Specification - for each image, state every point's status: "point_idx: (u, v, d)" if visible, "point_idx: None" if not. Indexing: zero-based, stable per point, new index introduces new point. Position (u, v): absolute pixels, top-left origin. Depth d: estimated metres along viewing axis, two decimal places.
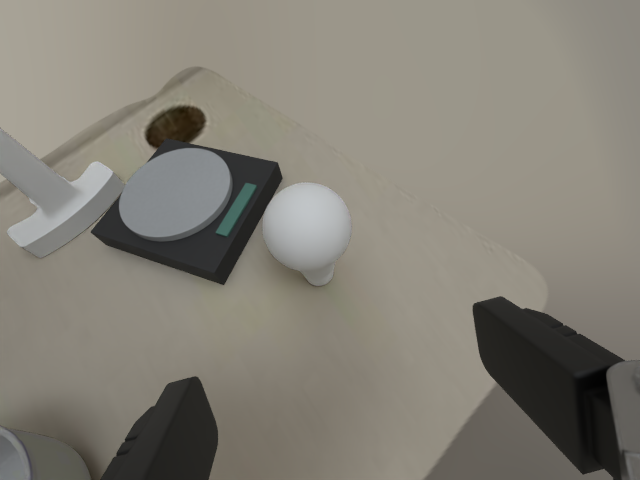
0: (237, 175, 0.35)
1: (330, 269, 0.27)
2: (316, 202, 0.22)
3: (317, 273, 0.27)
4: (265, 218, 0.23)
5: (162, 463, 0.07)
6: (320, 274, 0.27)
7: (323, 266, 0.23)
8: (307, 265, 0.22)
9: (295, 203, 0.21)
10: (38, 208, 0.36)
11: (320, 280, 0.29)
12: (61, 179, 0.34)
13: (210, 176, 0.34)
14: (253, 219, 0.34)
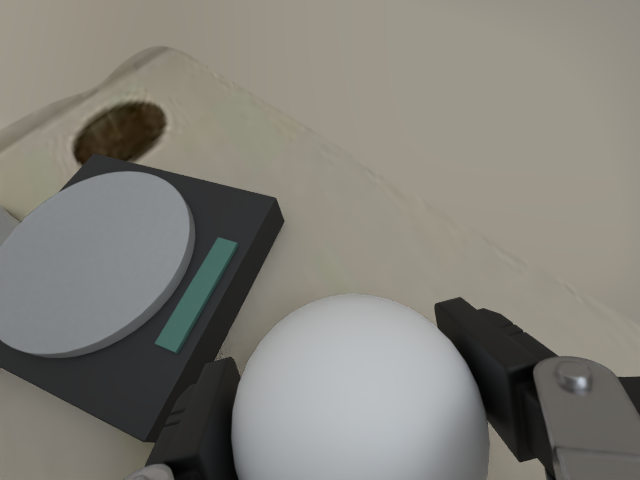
0: (204, 221, 0.20)
1: None
2: (408, 408, 0.06)
3: None
4: (237, 423, 0.08)
5: (212, 431, 0.08)
6: None
7: None
8: None
9: (337, 415, 0.06)
10: None
11: None
12: None
13: (154, 225, 0.19)
14: (231, 305, 0.18)
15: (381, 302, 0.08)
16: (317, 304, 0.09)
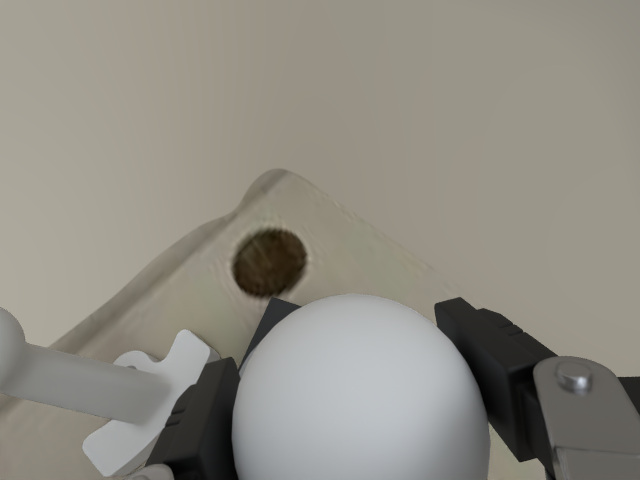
0: None
1: None
2: (409, 408, 0.06)
3: None
4: (238, 423, 0.08)
5: (212, 431, 0.08)
6: None
7: None
8: None
9: (338, 415, 0.06)
10: None
11: None
12: (155, 385, 0.26)
13: None
14: None
15: (381, 302, 0.08)
16: (317, 304, 0.09)
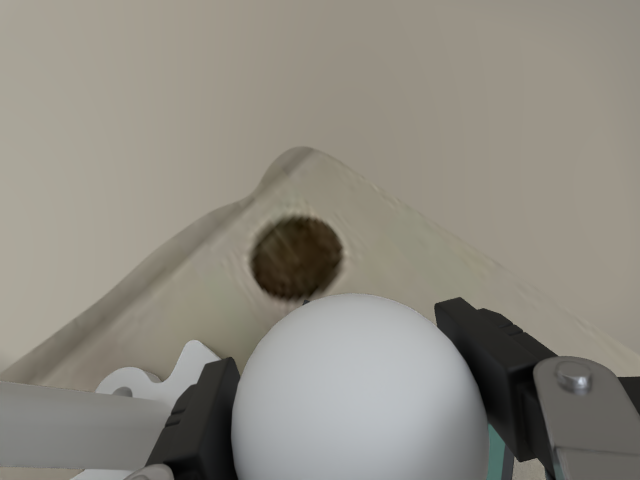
0: None
1: None
2: (409, 408, 0.06)
3: None
4: (237, 423, 0.08)
5: (212, 431, 0.08)
6: None
7: None
8: None
9: (337, 415, 0.06)
10: None
11: None
12: (157, 418, 0.19)
13: None
14: None
15: (381, 302, 0.08)
16: (317, 304, 0.09)
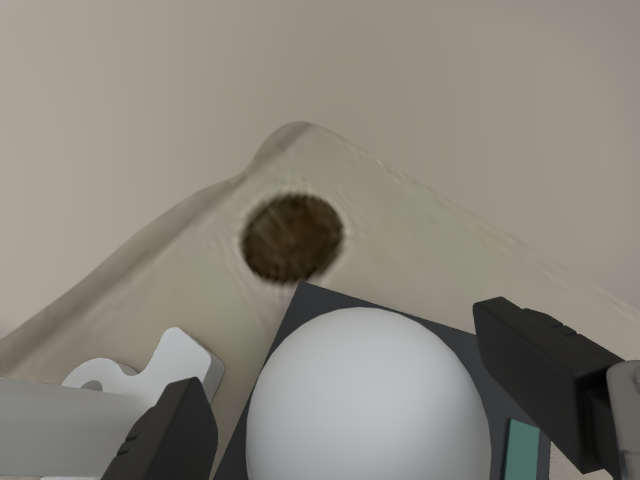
0: (478, 390, 0.17)
1: None
2: (415, 421, 0.07)
3: None
4: (253, 433, 0.08)
5: (162, 463, 0.07)
6: None
7: None
8: None
9: (349, 427, 0.07)
10: None
11: None
12: (124, 415, 0.16)
13: None
14: None
15: (387, 316, 0.09)
16: (326, 318, 0.09)
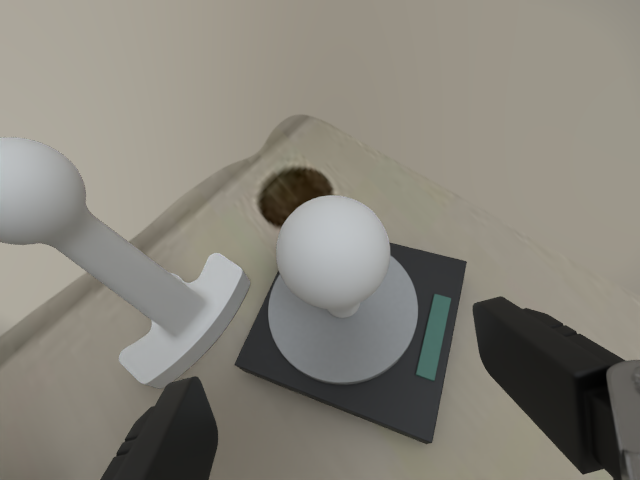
0: (416, 280, 0.27)
1: None
2: (348, 223, 0.16)
3: None
4: (280, 243, 0.18)
5: (162, 463, 0.07)
6: None
7: (356, 303, 0.18)
8: (336, 304, 0.17)
9: (321, 225, 0.16)
10: (154, 322, 0.28)
11: (345, 312, 0.23)
12: (192, 293, 0.26)
13: (385, 285, 0.26)
14: None
15: (342, 196, 0.19)
16: None
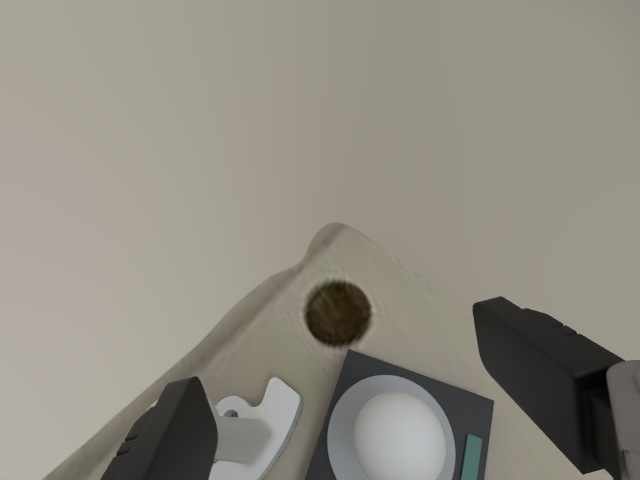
0: (451, 417, 0.32)
1: None
2: (419, 440, 0.21)
3: None
4: (361, 444, 0.23)
5: (162, 463, 0.07)
6: None
7: None
8: None
9: (398, 443, 0.21)
10: None
11: None
12: (264, 431, 0.31)
13: None
14: None
15: (408, 399, 0.23)
16: (385, 399, 0.24)
